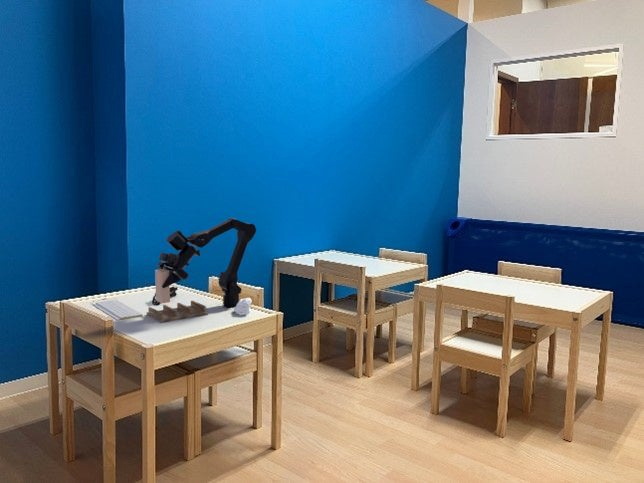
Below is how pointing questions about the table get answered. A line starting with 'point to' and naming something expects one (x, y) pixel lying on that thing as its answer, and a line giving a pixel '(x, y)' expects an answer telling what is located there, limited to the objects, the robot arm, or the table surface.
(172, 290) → the decorative element
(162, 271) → the pinkish tan block
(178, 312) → the drying rack
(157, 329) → the table surface
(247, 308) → the baby figurine
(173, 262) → the robot arm
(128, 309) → the baseboard molding
